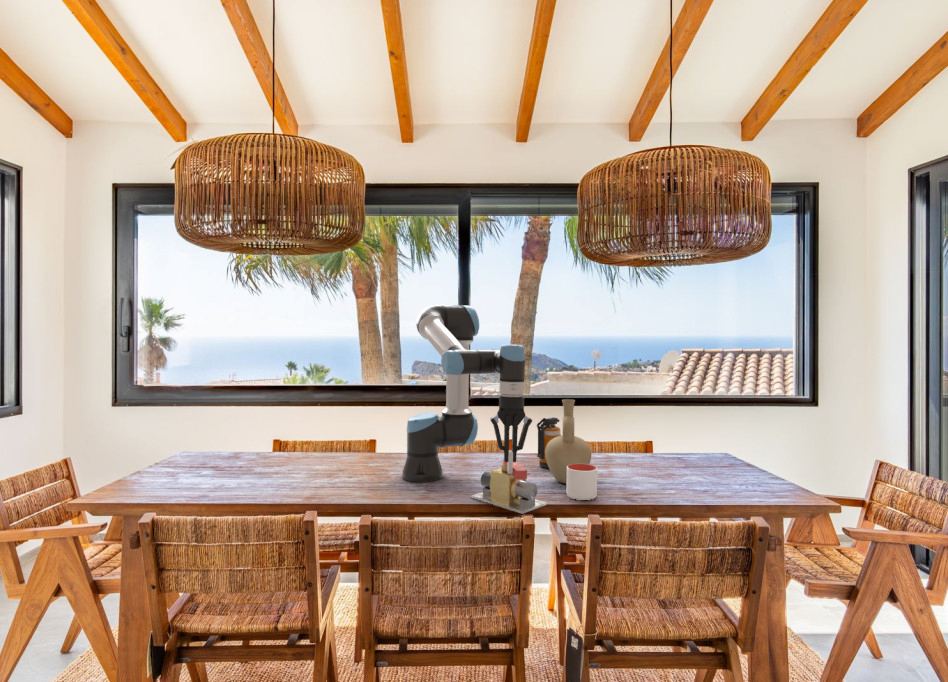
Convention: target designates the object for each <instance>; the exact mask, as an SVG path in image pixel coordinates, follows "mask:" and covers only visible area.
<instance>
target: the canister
mask: <svg viewBox="0 0 948 682" xmlns="http://www.w3.org/2000/svg"><path fill="white" fill-rule="evenodd" d="M560 421H561V420H560V419H558V417H554V416H553V417H549V418H545V417H543V418H542V419H541V420H540V421H539V422H538V423H537V424H536V427H537V454H536V457H537V458H539V459H538V460H539V463H538V465H539V466H540V467H542V468H544V469H549V467H548V464H547V461H546V457H545V449H546V446H547V444H548V443H549V441H551V440H552V439H553V438H555V437H558V436H563V434H561V428H560V426H556V425H557V424H558V423H560Z"/></svg>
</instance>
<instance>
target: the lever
mask: <svg viewBox="0 0 948 682" xmlns="http://www.w3.org/2000/svg"><path fill="white" fill-rule="evenodd" d="M502 460H503V461H502V462H501V467H500V468H501V470H502V471H505V472H507V462H505V461H504V458H503V459H502ZM511 475H512V476H513V477H514V478H515V479H516V480H519V479H526V480H527V479H528V470H527V469H526V468H525V467H524V466H522V465H520V464H519V463H517V461H516V462H513V474H511Z"/></svg>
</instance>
